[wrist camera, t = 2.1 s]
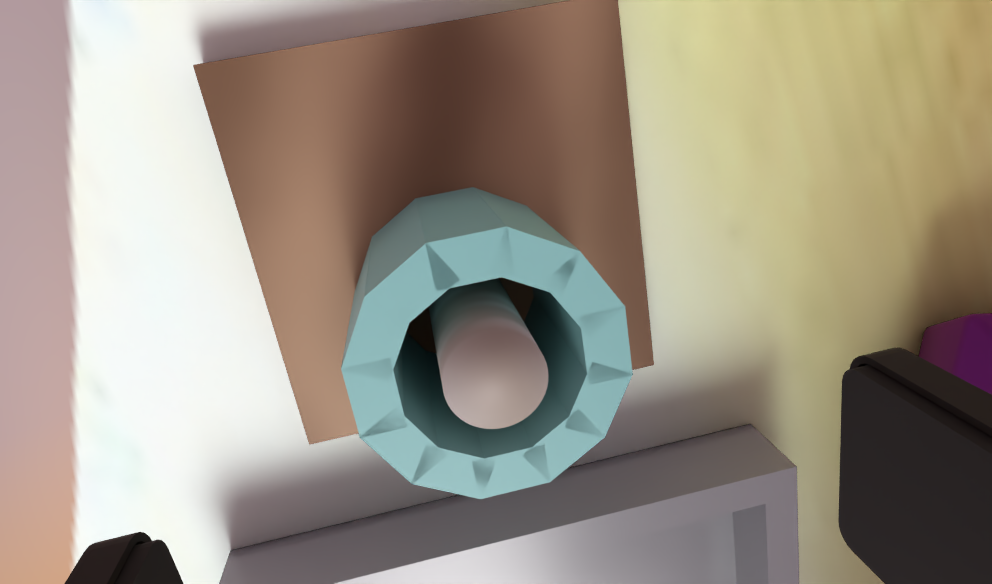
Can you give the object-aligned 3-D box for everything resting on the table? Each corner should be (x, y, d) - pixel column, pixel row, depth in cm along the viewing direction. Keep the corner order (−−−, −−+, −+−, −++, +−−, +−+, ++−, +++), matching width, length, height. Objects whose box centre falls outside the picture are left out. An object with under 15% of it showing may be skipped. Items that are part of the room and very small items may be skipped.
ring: (549, 171, 20) (614, 204, 14) (582, 402, 22) (648, 508, 17) (335, 214, 19) (312, 265, 13) (395, 446, 22) (396, 571, 16)
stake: (605, -4, 19) (729, -57, 12) (643, 353, 23) (753, 469, 16) (203, 66, 18) (84, 50, 11) (312, 429, 22) (276, 588, 15)
